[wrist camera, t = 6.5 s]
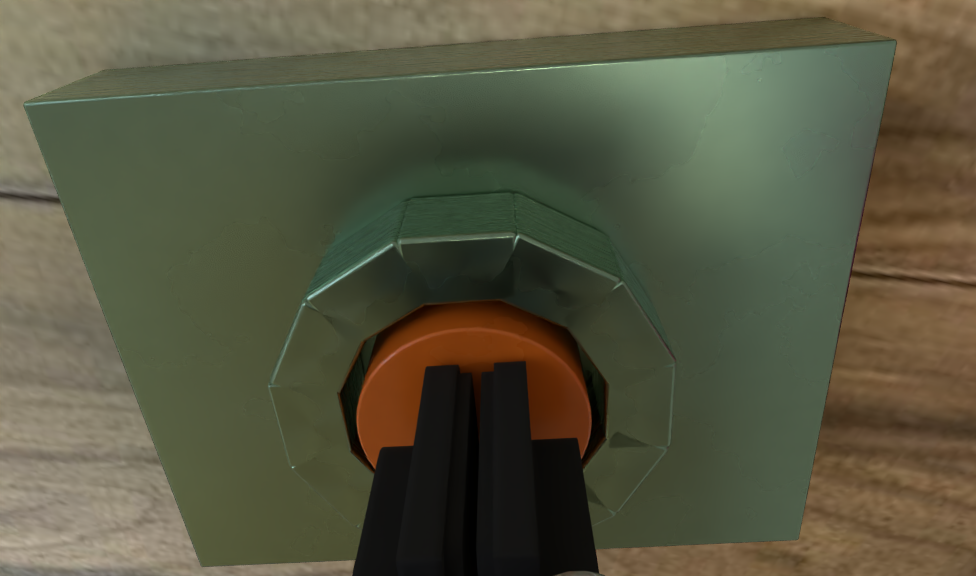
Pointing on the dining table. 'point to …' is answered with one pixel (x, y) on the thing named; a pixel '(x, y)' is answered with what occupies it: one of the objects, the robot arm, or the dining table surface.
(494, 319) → the button
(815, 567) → the dining table surface
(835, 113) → the green button base
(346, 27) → the dining table surface
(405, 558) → the robot arm
